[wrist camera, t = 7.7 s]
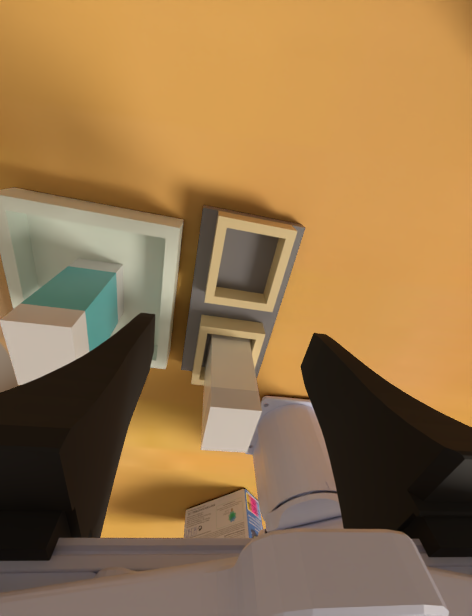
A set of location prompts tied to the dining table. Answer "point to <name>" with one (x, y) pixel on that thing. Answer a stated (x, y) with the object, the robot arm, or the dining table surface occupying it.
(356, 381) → the robot arm
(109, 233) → the tray
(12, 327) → the block
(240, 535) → the ink cartridge box
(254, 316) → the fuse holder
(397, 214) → the dining table surface
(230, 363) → the block
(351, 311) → the dining table surface
